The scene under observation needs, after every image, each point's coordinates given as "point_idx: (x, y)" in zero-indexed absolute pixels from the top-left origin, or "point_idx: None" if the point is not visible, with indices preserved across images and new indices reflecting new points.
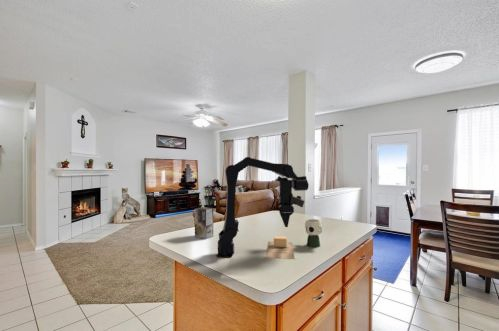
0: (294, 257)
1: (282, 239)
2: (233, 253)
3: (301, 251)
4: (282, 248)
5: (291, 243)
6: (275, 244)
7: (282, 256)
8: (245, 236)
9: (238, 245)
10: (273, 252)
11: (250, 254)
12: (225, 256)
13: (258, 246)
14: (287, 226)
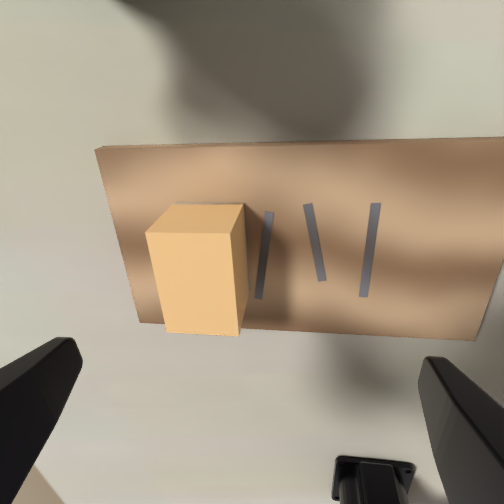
0: (499, 141)
1: (234, 265)
2: (382, 465)
3: (268, 60)
4: (272, 234)
5: (123, 156)
6: (245, 292)
7: (462, 238)
8: (63, 418)
9: (224, 441)
10: (369, 295)
11: (362, 395)
12: (410, 483)
13: (217, 362)
14: (450, 365)
